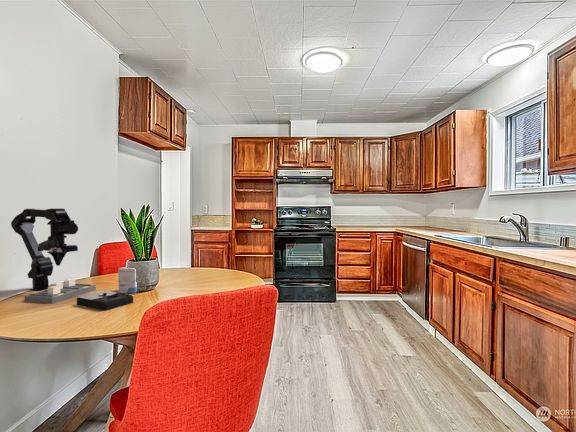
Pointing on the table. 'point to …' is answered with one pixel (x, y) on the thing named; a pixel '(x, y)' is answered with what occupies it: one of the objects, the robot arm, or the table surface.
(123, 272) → the ink box
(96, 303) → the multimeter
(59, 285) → the tab
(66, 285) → the tab
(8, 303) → the table surface
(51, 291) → the tab
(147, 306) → the table surface
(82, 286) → the switch bank
